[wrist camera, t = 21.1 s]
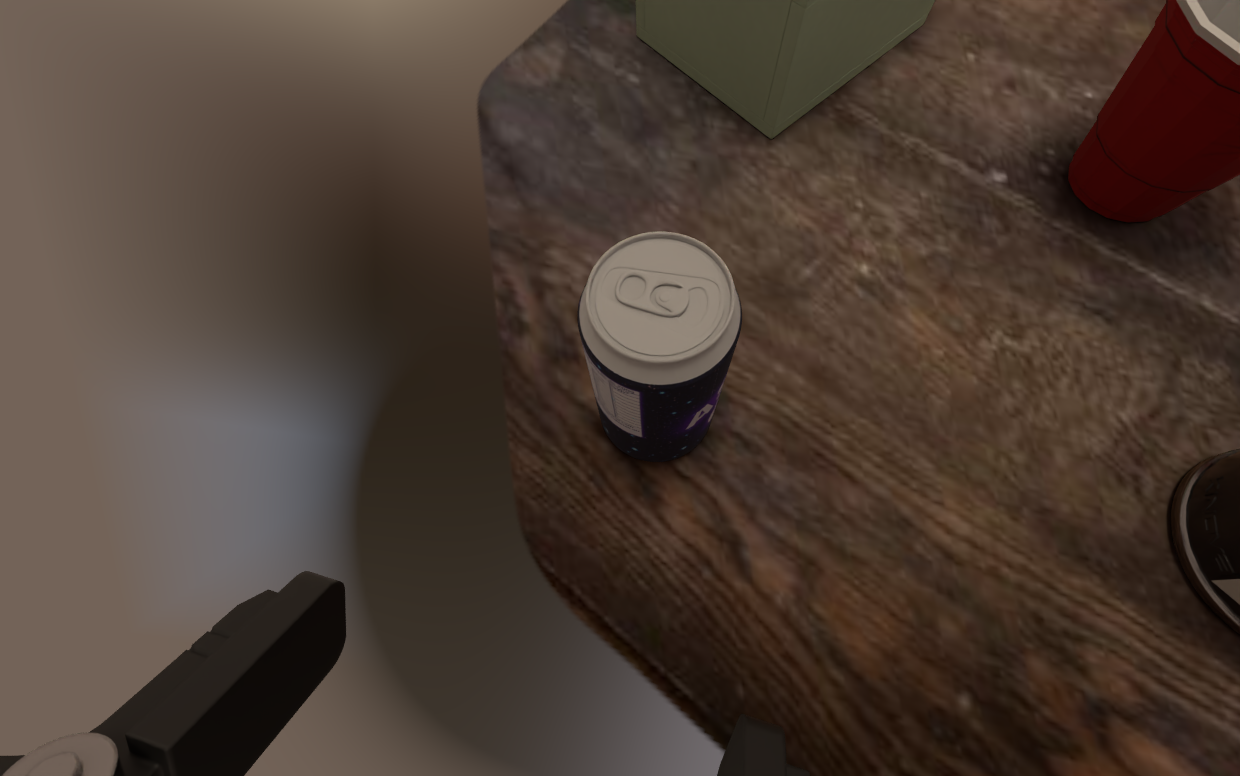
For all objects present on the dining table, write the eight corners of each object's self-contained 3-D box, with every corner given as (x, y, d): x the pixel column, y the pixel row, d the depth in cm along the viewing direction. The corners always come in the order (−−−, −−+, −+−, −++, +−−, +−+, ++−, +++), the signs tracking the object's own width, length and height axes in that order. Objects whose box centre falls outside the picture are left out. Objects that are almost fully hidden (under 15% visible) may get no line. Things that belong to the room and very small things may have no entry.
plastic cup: (983, 137, 35) (1138, -81, 24) (1144, 97, 36) (1367, -135, 25) (1081, 284, 32) (1318, 103, 20) (1259, 235, 32) (1586, 34, 21)
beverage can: (691, 481, 28) (720, 396, 17) (585, 445, 29) (546, 343, 18) (723, 381, 30) (767, 245, 19) (622, 350, 31) (608, 203, 20)
